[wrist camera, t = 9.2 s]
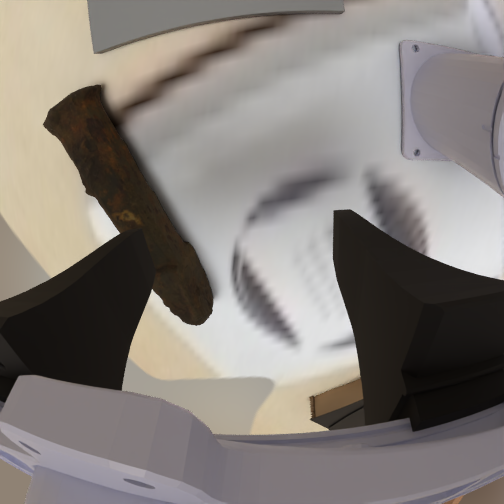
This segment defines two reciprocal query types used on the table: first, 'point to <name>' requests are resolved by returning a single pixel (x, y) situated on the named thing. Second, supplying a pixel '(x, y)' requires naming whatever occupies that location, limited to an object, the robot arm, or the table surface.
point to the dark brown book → (339, 407)
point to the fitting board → (182, 16)
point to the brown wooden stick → (130, 200)
